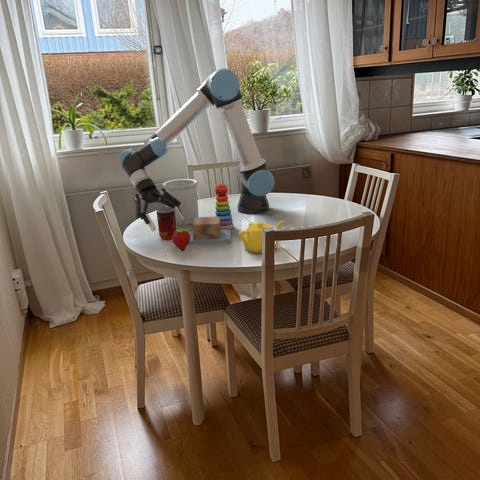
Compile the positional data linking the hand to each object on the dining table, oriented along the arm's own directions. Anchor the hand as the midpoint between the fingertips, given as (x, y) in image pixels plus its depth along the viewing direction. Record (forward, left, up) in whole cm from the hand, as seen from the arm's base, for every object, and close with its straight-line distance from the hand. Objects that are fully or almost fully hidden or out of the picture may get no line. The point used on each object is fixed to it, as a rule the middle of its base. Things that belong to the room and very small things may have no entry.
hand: (168, 225), depth 170 cm
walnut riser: (-15, +2, -4) cm, 16 cm away
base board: (-15, +2, -6) cm, 16 cm away
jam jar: (+1, -1, -6) cm, 6 cm away
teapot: (-36, +16, -6) cm, 40 cm away
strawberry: (-7, +14, -6) cm, 17 cm away
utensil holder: (-2, -25, -6) cm, 26 cm away
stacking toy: (-21, -11, -6) cm, 25 cm away
